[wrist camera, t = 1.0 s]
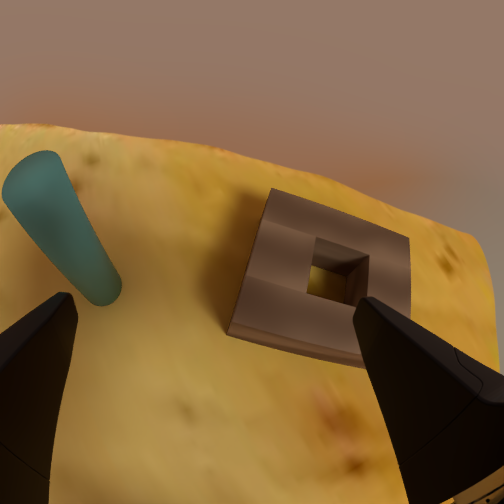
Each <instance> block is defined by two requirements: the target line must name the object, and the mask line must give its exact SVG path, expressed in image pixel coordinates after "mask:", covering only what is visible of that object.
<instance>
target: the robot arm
mask: <svg viewBox="0 0 504 504" xmlns="http://www.w3.org/2000/svg"><path fill="white" fill-rule="evenodd" d="M77 324H78V313H77V310H76V306H75V303H74V300H73V297H72V295H71V294H70V293H67V292H58V293H57V294H55V295H54V296H52V297H51V298H49V299H48V300H47V301H45V302H44V303H42V304H41V305H39V306H38V307H36V308H35V309H34V310H32V311H31V312H29V313H28V314H27V315H25V316H24V317H23V318H21V319H20V320H18V321H17V322H16V323H14V324H13V325H12V326H10V327H9V328H8V329H6V330H5V331H4V332H2V333H1V334H0V504H49V484H50V481H49V480H50V470H51V461H52V452H53V445H54V438H55V432H56V426H57V420H58V415H59V410H60V405H61V400H62V396H63V391H64V387H65V383H66V379H67V375H68V371H69V367H70V362H71V357H72V351H73V345H74V339H75V334H76V329H77ZM353 326H354V329H355V333H356V336H357V340H358V344H359V347H360V351H361V355H362V358H363V362H364V364H365V367H366V370H367V373H368V375H369V378H370V381H371V384H372V386H373V389H374V392H375V395H376V397H377V400H378V403H379V406H380V409H381V412H382V415H383V418H384V421H385V424H386V427H387V430H388V433H389V436H390V439H391V442H392V445H393V448H394V452H395V455H396V458H397V462H398V465H399V469H400V472H401V476H402V479H403V483H404V486H405V490H406V494H407V498H408V501H409V504H440V503H442V502H444V501H446V500H448V499H450V498H452V497H453V499H454V502H453V503H451V504H504V376H503V375H502V374H500V373H498V372H496V371H494V370H492V369H491V368H489V367H487V366H485V365H483V364H482V363H480V362H478V361H476V360H475V359H473V358H471V357H470V356H468V355H466V354H465V353H463V352H462V351H460V350H459V349H457V348H455V347H453V346H452V345H451V344H449V343H447V342H446V341H444V340H443V339H441V338H439V337H438V336H436V335H435V334H433V333H432V332H430V331H428V330H427V329H425V328H424V327H422V326H420V325H419V324H417V323H415V322H414V321H412V320H411V319H409V318H407V317H406V316H404V315H402V314H401V313H399V312H398V311H396V310H394V309H393V308H391V307H389V306H388V305H386V304H384V303H383V302H381V301H380V300H378V299H376V298H375V297H372V296H367V297H361V298H360V300H359V302H358V304H357V307H356V310H355V312H354V315H353Z"/></svg>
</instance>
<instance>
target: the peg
mask: <svg viewBox="0 0 504 504" xmlns="http://www.w3.org/2000/svg"><path fill="white" fill-rule="evenodd" d="M2 198H3V201H4V203H5V204H6V205H7V207H8V208H9V210H10V211H11V212H12V214H13V215H14V216H15V218H16V219H17V220H18V222H19V223H20V224H21V226H22V227H23V228H24V229H25V231H26V232H27V233H28V234H29V236H30V237H31V238H32V239H33V241H34V242H35V243H36V244H37V245H38V247H39V248H40V249H41V250H42V251H43V252H44V254H45V255H46V256H47V257H48V258H49V259H50V260H51V262H52V263H53V264H54V265H55V266H56V267H57V268H58V269H59V270H60V271H61V273H62V274H63V275H64V276H65V277H66V278H67V279H68V280H69V281H70V282H71V283H72V284H73V285H74V286H75V287H76V288H77V289H78V290H79V291H80V292H81V293H82V294H83V295H84V296H85V297H86V298H87V299H88V300H89V301H90V302H91V303H92V304H94V305H97V306H106V305H109V304H111V303H112V302H114V301H115V300H116V299H117V298H118V296H119V294H120V292H121V288H122V282H121V278H120V276H119V274H118V273H117V271H116V269H115V268H114V266H113V264H112V262H111V261H110V259H109V257H108V255H107V254H106V252H105V250H104V248H103V246H102V245H101V243H100V241H99V239H98V237H97V235H96V233H95V231H94V230H93V228H92V226H91V224H90V222H89V220H88V218H87V216H86V214H85V212H84V210H83V208H82V206H81V204H80V202H79V199H78V197H77V195H76V193H75V191H74V189H73V187H72V184H71V182H70V180H69V178H68V175H67V173H66V171H65V168H64V166H63V163H62V161H61V159H60V157H59V155H58V154H57V153H55V152H53V151H48V150H46V151H39V152H36V153H33V154H31V155H29V156H27V157H26V158H24V159H23V160H21V161H20V162H19V163H18V164H17V165H16V166H15V167H14V168H13V169H12V170H11V171H10V173H9V174H8V176H7V178H6V179H5V182H4V184H3V188H2Z"/></svg>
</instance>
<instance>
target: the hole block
mask: <svg viewBox="0 0 504 504" xmlns="http://www.w3.org/2000/svg"><path fill="white" fill-rule="evenodd" d="M311 265H313V266H316V267H319V268H322V269H325V270H329V271H332V272H335V273H338V274H341V275H345V276H347V280H346V289H345V298H344V304H342V303H339V302H335V301H332V300H328V299H325V298H321V297H318V296H314V295H311V294H307V293H306V292H307V286H308V281H309V275H310V269H311ZM367 296H372V297H375V298H376V299H378V300H380V301H381V302H383V303H384V304H386V305H388V306H389V307H391V308H393V309H394V310H396V311H398V312H399V313H401V314H402V315H404V316H406V317H407V318H409V319H410V314H411V267H410V245H409V238H408V237H406V236H403V235H401V234H398V233H396V232H393V231H391V230H388V229H386V228H383V227H381V226H378V225H376V224H373V223H371V222H368V221H365V220H363V219H360V218H358V217H355V216H352V215H349V214H347V213H344V212H341V211H339V210H336V209H333V208H330V207H327V206H325V205H322V204H319V203H316V202H313V201H310V200H307V199H304V198H301V197H298V196H295V195H292V194H289V193H286V192H283V191H280V190H277V189H274V188H271V191H270V194H269V196H268V199H267V202H266V205H265V208H264V211H263V214H262V217H261V220H260V224H259V227H258V230H257V234H256V237H255V240H254V244H253V247H252V251H251V254H250V257H249V261H248V264H247V267H246V271H245V274H244V277H243V281H242V284H241V288H240V291H239V294H238V298H237V301H236V304H235V308H234V311H233V315H232V318H231V321H230V325H229V328H228V331H227V335H228V336H231V337H235V338H238V339H241V340H245V341H248V342H252V343H256V344H259V345H263V346H267V347H270V348H274V349H278V350H282V351H286V352H290V353H294V354H298V355H302V356H306V357H311V358H315V359H319V360H324V361H329V362H333V363H338V364H343V365H348V366H353V367H358V368H363V369H366V367H365V364H364V362H363V358H362V355H361V351H360V347H359V344H358V340H357V336H356V333H355V329H354V326H353V315H354V312H355V310H356V307H357V304H358V302H359V300H360V298H361V297H367Z"/></svg>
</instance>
